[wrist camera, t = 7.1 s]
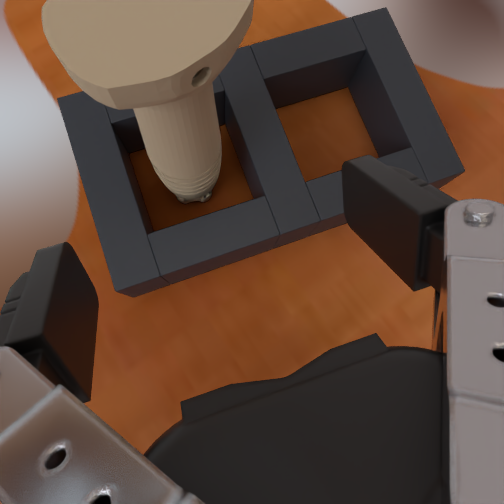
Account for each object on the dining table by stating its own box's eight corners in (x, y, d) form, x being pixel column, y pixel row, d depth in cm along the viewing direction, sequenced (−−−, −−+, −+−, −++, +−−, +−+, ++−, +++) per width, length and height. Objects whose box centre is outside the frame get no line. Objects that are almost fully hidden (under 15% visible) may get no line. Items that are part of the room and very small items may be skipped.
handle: (252, 183, 27) (283, 4, 12) (176, 239, 25) (106, 119, 11) (209, 131, 27) (188, -102, 12) (133, 184, 26) (10, -3, 11)
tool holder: (365, 49, 29) (386, 6, 25) (431, 193, 27) (466, 171, 23) (82, 132, 27) (56, 97, 23) (133, 297, 25) (115, 291, 21)
